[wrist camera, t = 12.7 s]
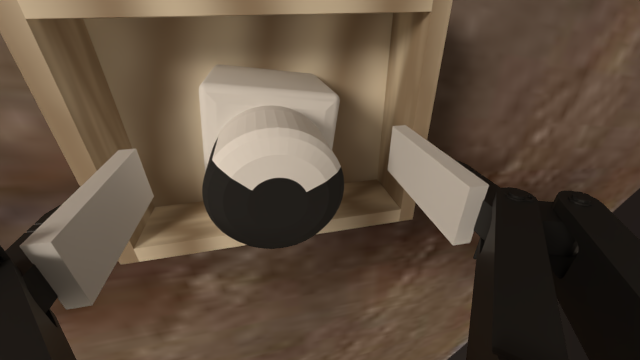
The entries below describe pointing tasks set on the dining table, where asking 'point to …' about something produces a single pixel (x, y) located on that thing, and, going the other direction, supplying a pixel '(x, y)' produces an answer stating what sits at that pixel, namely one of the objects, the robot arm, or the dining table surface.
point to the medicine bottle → (269, 154)
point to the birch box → (193, 67)
